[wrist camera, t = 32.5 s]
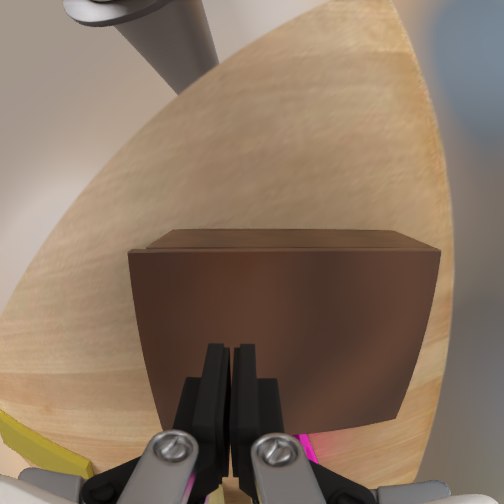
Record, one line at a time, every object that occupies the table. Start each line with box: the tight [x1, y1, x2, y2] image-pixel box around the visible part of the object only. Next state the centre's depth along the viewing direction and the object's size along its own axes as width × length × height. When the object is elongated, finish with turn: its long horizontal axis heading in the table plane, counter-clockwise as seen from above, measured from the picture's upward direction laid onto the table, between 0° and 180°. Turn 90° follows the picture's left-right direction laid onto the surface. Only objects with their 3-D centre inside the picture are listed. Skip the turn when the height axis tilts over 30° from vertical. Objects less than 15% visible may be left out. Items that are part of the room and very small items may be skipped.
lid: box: [128, 248, 441, 435], centre depth 19 cm, size 20×16×1 cm
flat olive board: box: [0, 410, 94, 479], centre depth 33 cm, size 12×2×24 cm
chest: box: [146, 229, 434, 249], centre depth 23 cm, size 20×16×7 cm
